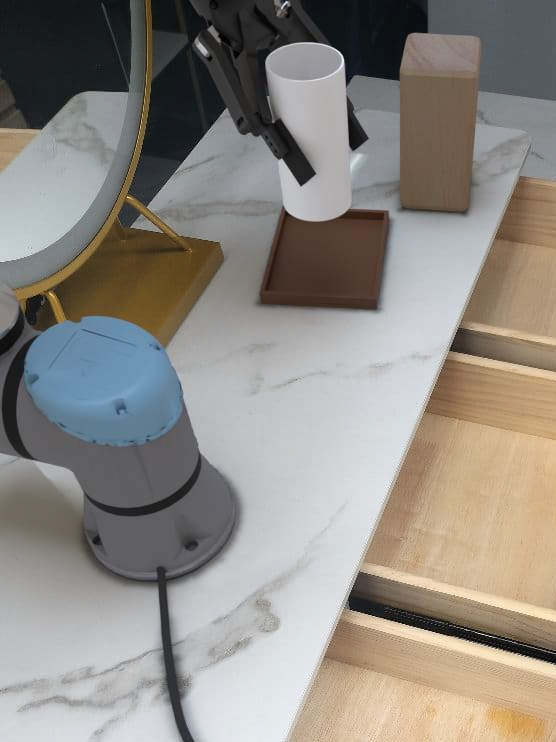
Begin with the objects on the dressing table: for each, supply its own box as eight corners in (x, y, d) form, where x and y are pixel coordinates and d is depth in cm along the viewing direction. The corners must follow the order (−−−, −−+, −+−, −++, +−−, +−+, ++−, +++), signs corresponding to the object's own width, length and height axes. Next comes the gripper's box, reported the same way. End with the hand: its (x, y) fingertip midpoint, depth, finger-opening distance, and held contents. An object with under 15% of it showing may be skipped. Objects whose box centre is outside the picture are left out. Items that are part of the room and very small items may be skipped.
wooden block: (471, 175, 123) (482, 32, 107) (468, 214, 118) (479, 70, 101) (406, 171, 124) (406, 29, 107) (399, 210, 118) (398, 66, 102)
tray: (376, 309, 106) (376, 298, 104) (261, 303, 106) (259, 293, 105) (389, 220, 117) (388, 210, 115) (283, 216, 117) (282, 205, 116)
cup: (273, 190, 99) (254, 51, 86) (336, 174, 101) (326, 36, 88) (297, 228, 95) (280, 88, 81) (362, 211, 97) (356, 71, 83)
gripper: (139, -28, 76) (285, 192, 84) (292, -97, 85) (411, 107, 93) (117, 17, 82) (256, 218, 90) (263, -51, 92) (377, 137, 99)
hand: (335, 162), depth 92 cm, fingers closed on cup, 8 cm apart
